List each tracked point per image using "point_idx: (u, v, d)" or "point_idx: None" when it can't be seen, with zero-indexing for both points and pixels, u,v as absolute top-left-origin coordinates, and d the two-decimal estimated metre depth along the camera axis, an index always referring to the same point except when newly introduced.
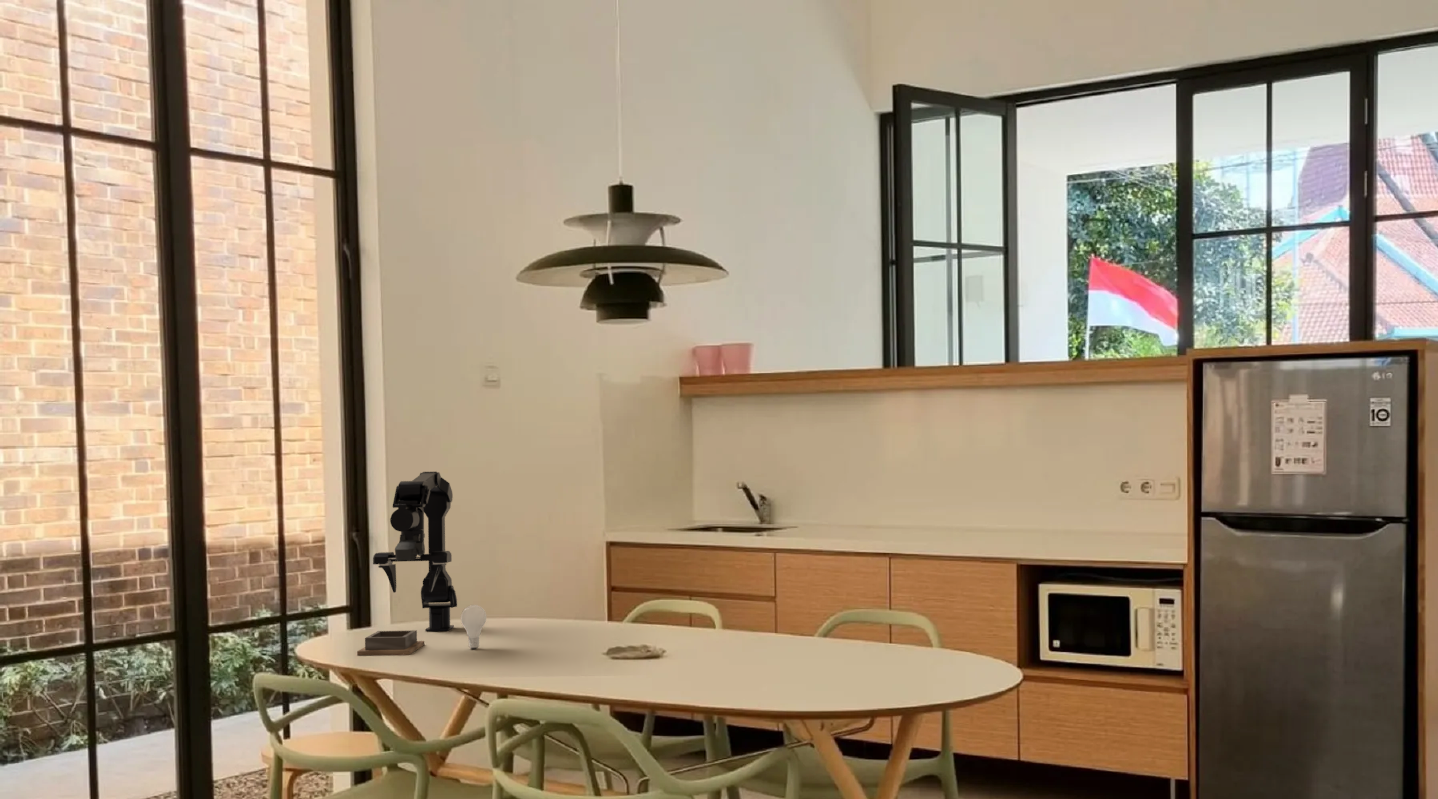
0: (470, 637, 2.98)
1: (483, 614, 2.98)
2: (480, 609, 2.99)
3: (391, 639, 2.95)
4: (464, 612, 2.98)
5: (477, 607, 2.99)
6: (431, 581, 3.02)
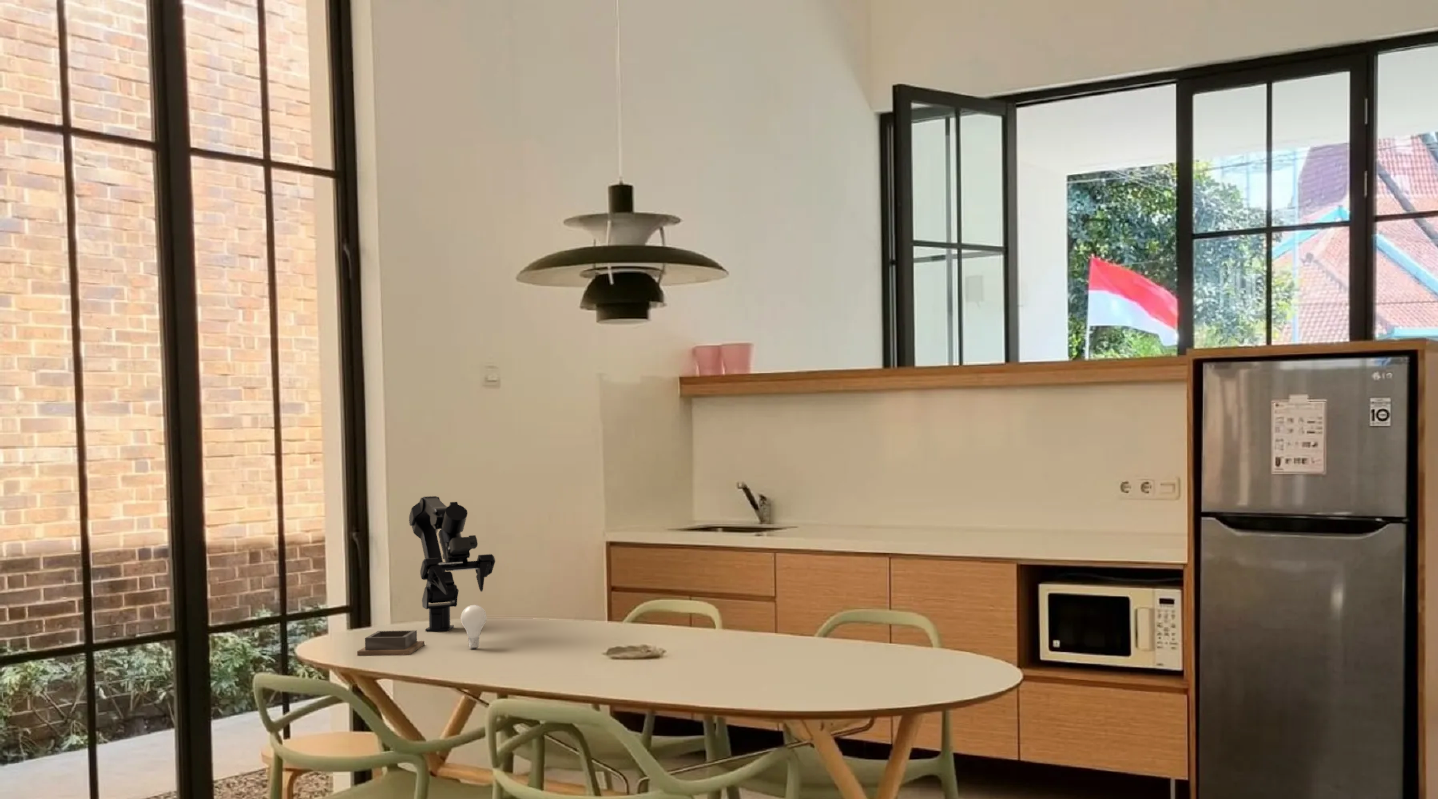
0: (470, 637, 2.98)
1: (483, 614, 2.98)
2: (480, 609, 2.99)
3: (391, 639, 2.95)
4: (464, 612, 2.98)
5: (477, 607, 2.99)
6: (482, 579, 3.10)
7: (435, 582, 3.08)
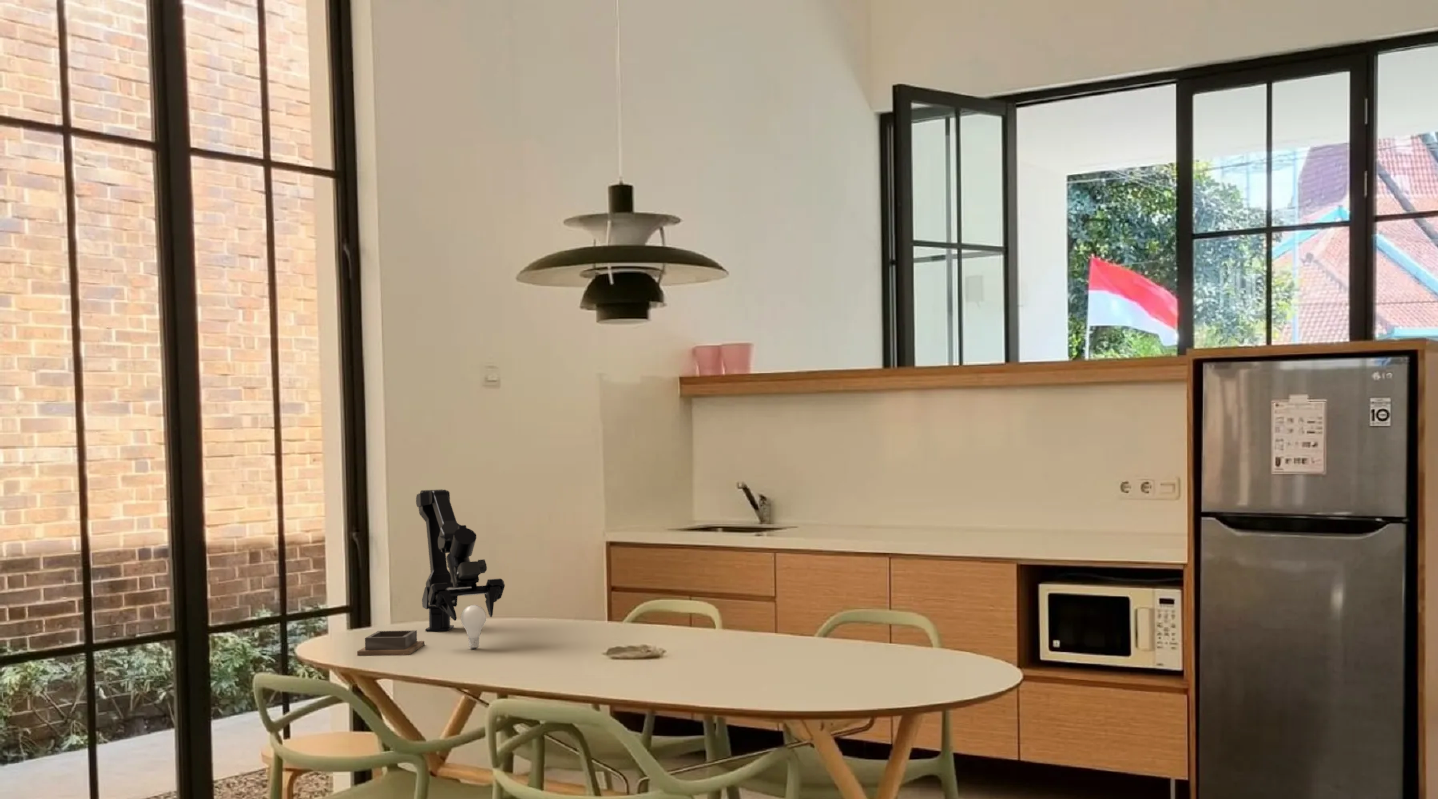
0: (470, 637, 2.98)
1: (483, 614, 2.98)
2: (480, 609, 2.99)
3: (391, 639, 2.95)
4: (464, 612, 2.98)
5: (477, 607, 2.99)
6: (491, 605, 3.03)
7: (443, 608, 3.01)
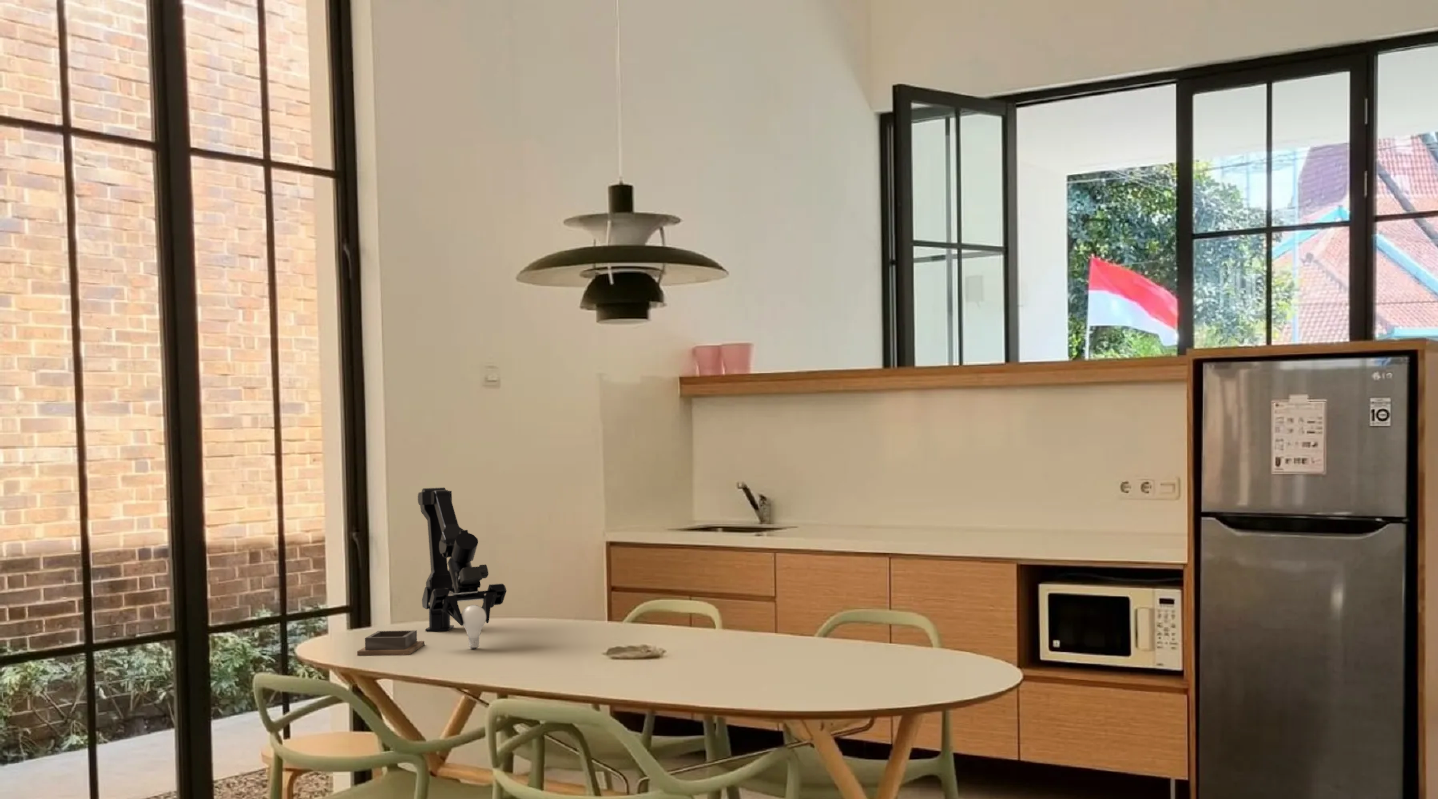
0: (470, 637, 2.98)
1: (483, 614, 2.98)
2: (480, 609, 2.99)
3: (391, 639, 2.95)
4: (464, 612, 2.98)
5: (477, 607, 2.99)
6: (488, 611, 3.01)
7: (450, 613, 3.00)
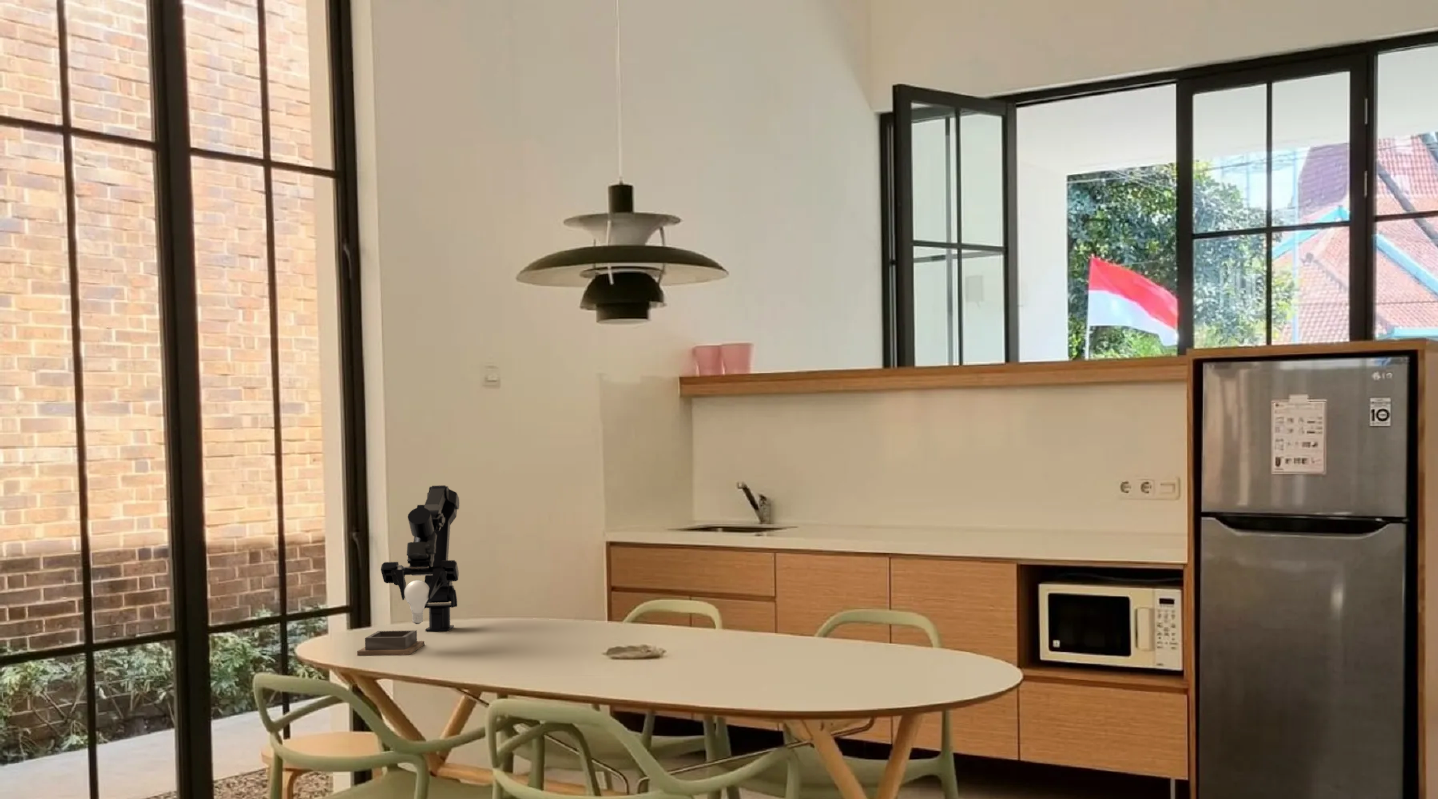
0: (412, 612, 2.98)
1: (422, 590, 2.97)
2: (420, 585, 2.97)
3: (391, 639, 2.95)
4: (406, 587, 2.98)
5: (418, 582, 2.97)
6: (431, 587, 2.99)
7: (399, 586, 3.02)
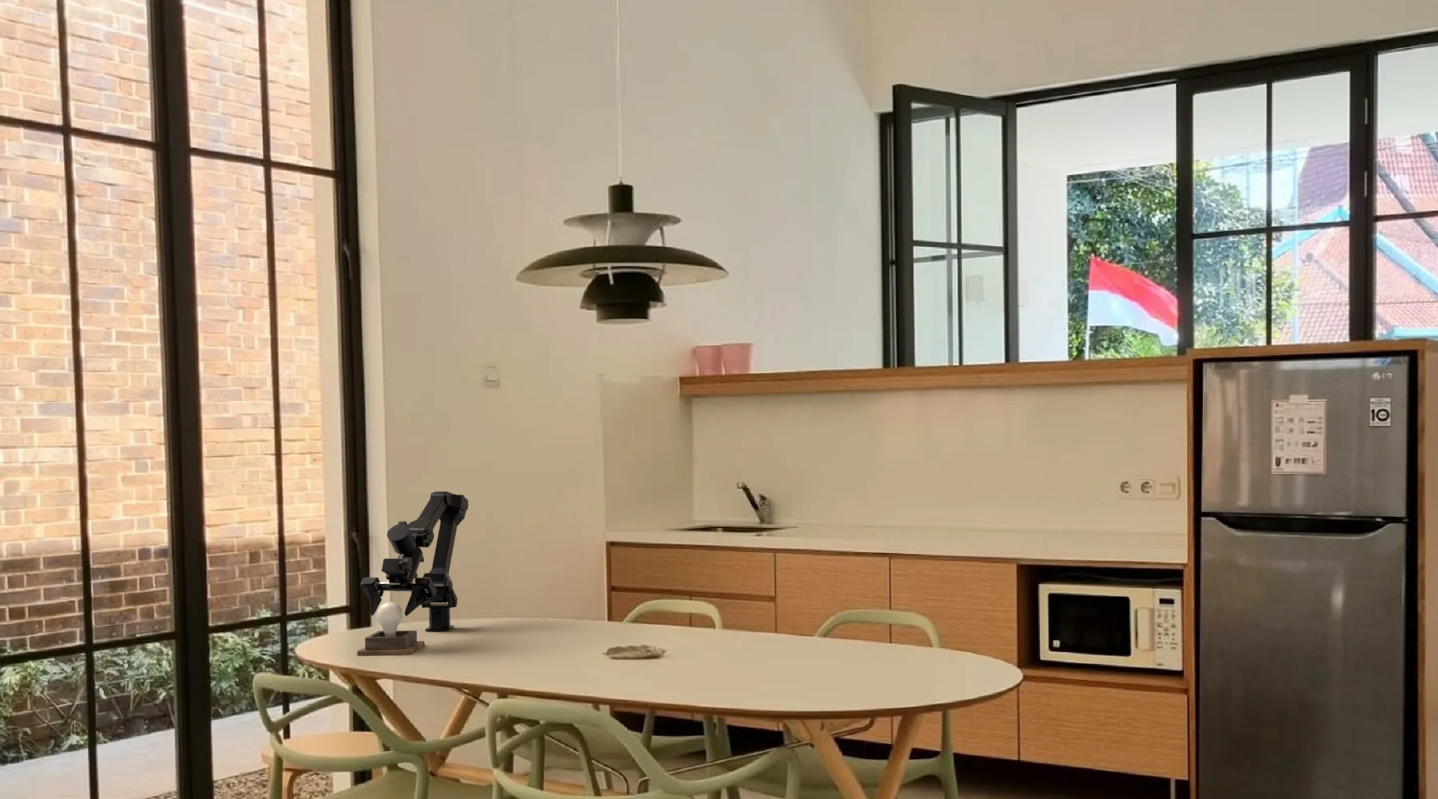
0: None
1: (392, 612, 2.98)
2: (390, 606, 2.99)
3: (391, 639, 2.95)
4: (378, 608, 3.00)
5: (388, 604, 2.99)
6: (409, 604, 2.99)
7: None
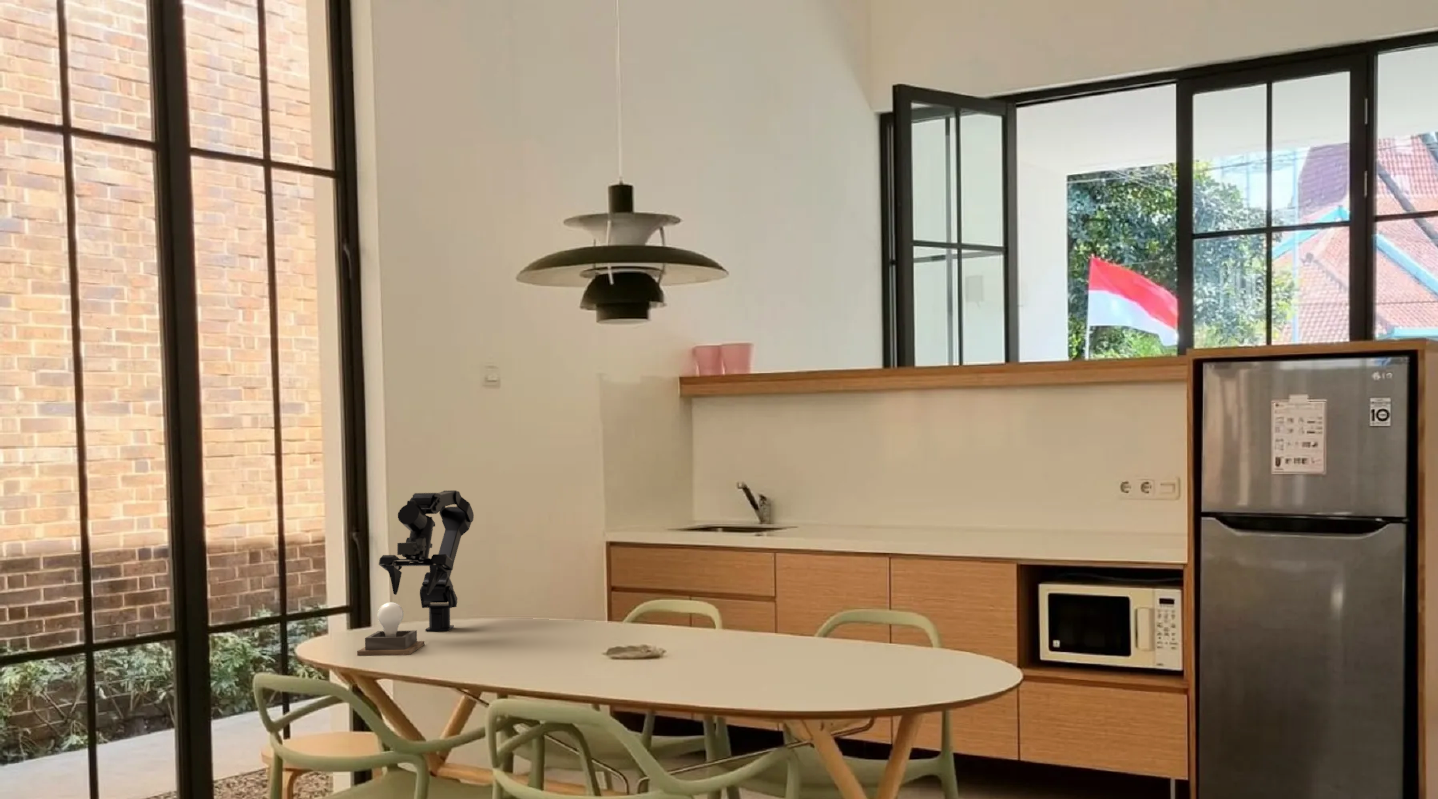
0: (385, 634, 3.00)
1: (393, 612, 2.98)
2: (391, 607, 2.99)
3: (391, 639, 2.95)
4: (379, 608, 3.00)
5: (389, 605, 2.99)
6: (429, 583, 3.10)
7: None
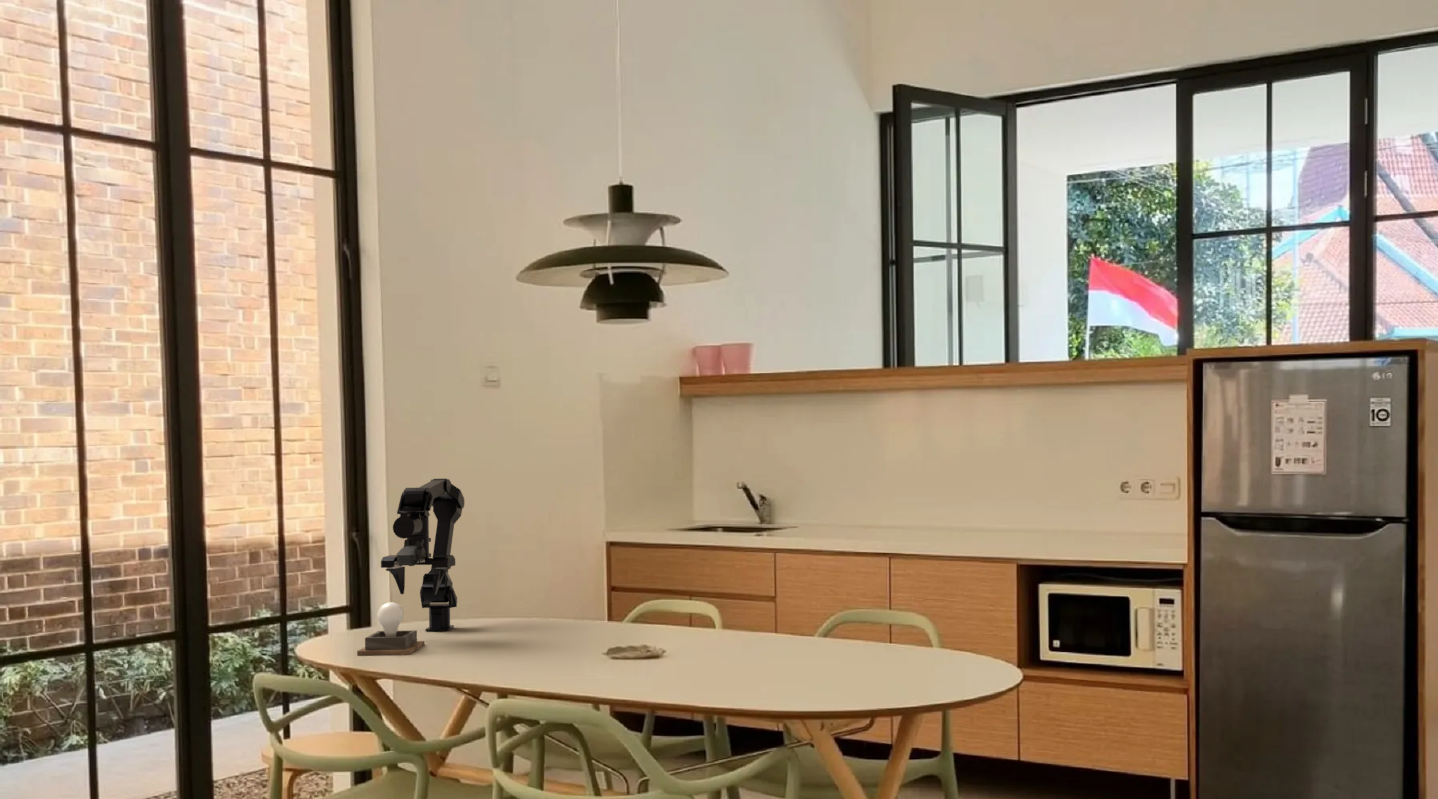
0: (385, 634, 3.00)
1: (393, 612, 2.98)
2: (391, 607, 2.99)
3: (391, 639, 2.95)
4: (379, 608, 3.00)
5: (389, 604, 2.99)
6: (434, 584, 3.13)
7: None
